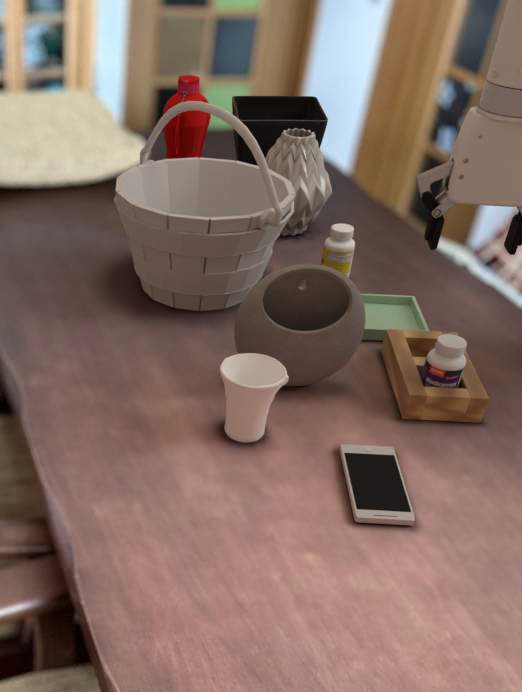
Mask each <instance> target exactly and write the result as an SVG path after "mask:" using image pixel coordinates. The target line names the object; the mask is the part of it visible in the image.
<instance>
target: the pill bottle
mask: <svg viewBox="0 0 522 692" xmlns="http://www.w3.org/2000/svg"><path fill="white" fill-rule="evenodd" d="M467 345H468V342H467V340H466V339H465V338H464V337H462V336H460V335H459V336H457V335H453V334H443V335H440V336H439V337H438V339H437V342H436V344H435V348H434V349H432V350H431V351H430V352H429V353H428V355H427V357H426V361H425V364H424V367H423V371H422V374H421V377H420V378H421V380H422V383H423V385H424V387H444V388H458V386H459V383H460V380H461V377H462V374H463V371H464V368H465V365H466V358H465V356H464V355H463V354H464V352H465V350H466V349H467Z"/></svg>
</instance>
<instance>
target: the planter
mask: <svg viewBox="0 0 522 692" xmlns="http://www.w3.org/2000/svg"><path fill="white" fill-rule="evenodd" d="M304 280H305V285H306V286H305V287H301V285H302V284H303V281H304ZM361 294H362V293H361V292H360V290H359V288H358V287H357V285H356V284H355V283H354V281H353V280H351V278H350V277H349V278H348V277H347V276H346V275H344V274H343V273H341V272H339V271H337V270H335V269H333V268H330V267H326V266H322V265H321V264H315V263H300V264H299V263H298V264H292V265H287V266H284V267H282V268H279V269H276V270H274V271H272V272H271V273H269V274H267V275H265V276H264V277H262V278H261V279H260V280H259V281H258V282H257V283H256V284H255V286H254V287H253V288H252V289H251V290H250V291H249V293H248V294H247V295H246V297H245V298H244V300H243V302H242V303H240V304H239V305H240V306H239V308H238V310H237V313H236V316H235V320H234V327H233V339H234V343H235V350H236V352H237V354H243V353H257V354H262V355H267V356H269V357H272V358H274V359H276V360H278V361H279V362H280V363H281V364H282V365H283V366H284V367H285V368H286V371H287V375H288V376H289V379H288V382H287V383H286V384H285V385H283V386H282V387H284V386H285V387H302V386H308V385H312V384H316V383H318V382H322V381H324V380H326V379H328V378H330V377H331V376H333V375H334V374H336V373H338V372H339V371H340V370H341V369H342V368H344V367H345V366H346V365H347V364H348V362H349V361H351V359H352V358H353V356H354V355H355V354H356V353H357V350H358V348H359V347H360V344H361V342H362V341H363V340H362V337H363V333H364V329H365V319H366V316H365V307H364V303H363V299H362V297H361Z"/></svg>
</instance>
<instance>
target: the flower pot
mask: <svg viewBox="0 0 522 692" xmlns="http://www.w3.org/2000/svg"><path fill="white" fill-rule="evenodd" d="M231 111H232V113H231V114H232V115H234V116H236V117H237V118H238V119H239V120H240V121H241V122H242V123H243V124H244V125H245V126H246V127H247V128H248V129H249V131H250V132H251V134H252V135H253V136H254V138H255V139H256V141H257V143H258V145H259V147H260V149H261V151H262V153H263V155H264V157H265V158H266V156H267V154H268V151H269V150H270V149H271V148H272V147H273V146H274V145H275V144H276V141H277V139H278V138H280V137H281V134H282V132H283V131H284V130H288V129H295V128H297V129H305V130H310V131H311V132H314V133H315V137H316V140H317V141H318V146H319V149H320V150H321V146H322V143H323V139H324V136H325V133H326V130H327V126H328V122H329V118H328V115H327V114H326V113H325V111H324V109H323V107H322V104H321V103H320V101H319V99H318V97H317V96H313V95H312V96H311V95H233V96H232V97H231ZM232 129H233V139H234V140H233V141H234V148H235V149H234V150H235V156H236V161H240V162H244V163H248V164H252V165H256V166H258V164H257V162H256V160H255V158H254V156H253V153H252V151H251V150H250V148H249V147H248V145H247V144H246V142H245V141H244V139H243V138H242V137H241V136H240V135H239V133H238V132H237V131H236V130H235V129H234V128H233V127H232Z"/></svg>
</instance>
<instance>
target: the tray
mask: <svg viewBox="0 0 522 692" xmlns="http://www.w3.org/2000/svg"><path fill="white" fill-rule="evenodd" d="M360 294H361V297H362V299H363V303H364V307H365V316H366V319H365V329H364V333H363V337H362V340H361V341H377V342H379V341H380V342H383V340H384V336H385V332H386V329H397V330H418V331H430V329H429V327H428V324H427V322H426V319H425V317H424V315H423V313H422V310H421V308H420V306H419V303H418V300H417V299H416V296H415V295H405V294H404V295H403V294H382V293H381V294H380V293H379V294H377V293H360Z"/></svg>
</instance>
